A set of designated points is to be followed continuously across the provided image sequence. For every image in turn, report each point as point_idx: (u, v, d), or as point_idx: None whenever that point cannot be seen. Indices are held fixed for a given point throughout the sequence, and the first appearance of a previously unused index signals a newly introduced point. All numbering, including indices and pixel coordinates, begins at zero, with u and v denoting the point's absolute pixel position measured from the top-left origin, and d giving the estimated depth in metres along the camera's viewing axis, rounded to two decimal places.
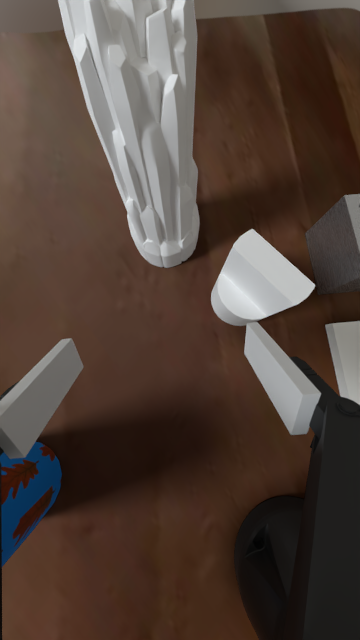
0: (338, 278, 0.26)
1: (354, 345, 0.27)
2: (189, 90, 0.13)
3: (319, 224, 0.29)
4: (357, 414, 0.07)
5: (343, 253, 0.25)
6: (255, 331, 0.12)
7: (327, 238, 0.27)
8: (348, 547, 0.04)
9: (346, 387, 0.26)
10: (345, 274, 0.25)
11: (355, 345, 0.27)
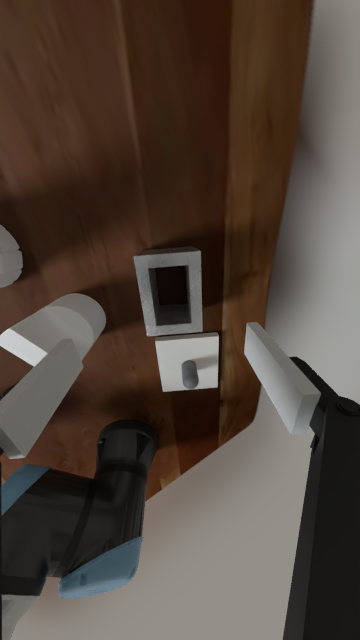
0: None
1: (170, 355, 0.36)
2: None
3: None
4: (357, 415, 0.07)
5: None
6: (255, 331, 0.12)
7: None
8: (348, 547, 0.04)
9: (161, 378, 0.39)
10: None
11: (170, 355, 0.36)
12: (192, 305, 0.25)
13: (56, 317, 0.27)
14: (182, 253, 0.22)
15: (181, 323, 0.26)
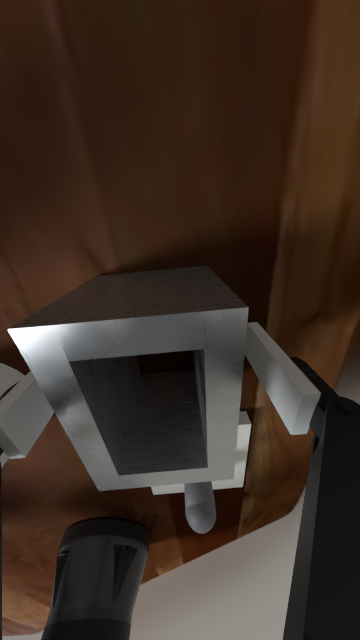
0: None
1: None
2: None
3: None
4: (357, 415, 0.07)
5: None
6: (255, 331, 0.12)
7: None
8: (348, 547, 0.04)
9: None
10: None
11: None
12: (211, 437, 0.09)
13: None
14: (182, 316, 0.06)
15: (183, 465, 0.10)
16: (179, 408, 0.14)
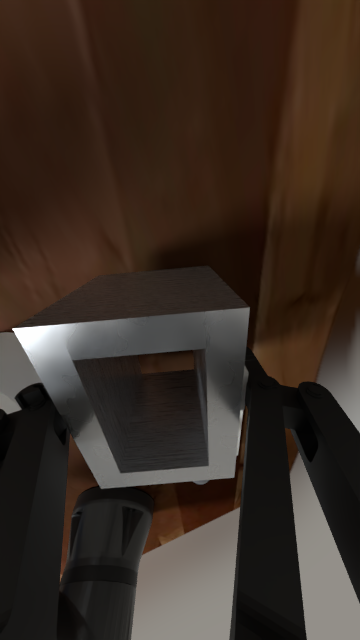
0: None
1: None
2: None
3: None
4: (272, 387, 0.08)
5: None
6: None
7: None
8: (268, 500, 0.05)
9: None
10: None
11: None
12: (212, 436, 0.09)
13: None
14: (184, 316, 0.06)
15: (184, 464, 0.11)
16: (180, 407, 0.14)
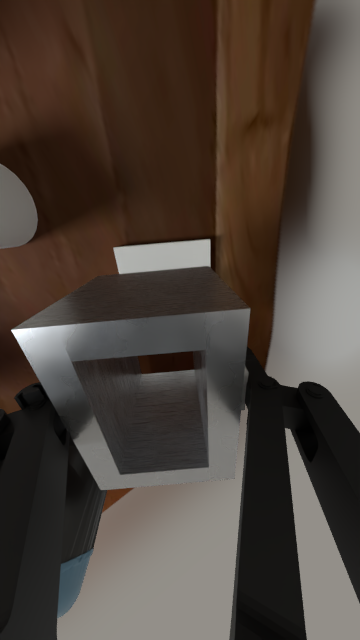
0: None
1: None
2: None
3: None
4: (272, 387, 0.08)
5: None
6: None
7: None
8: (268, 501, 0.05)
9: None
10: None
11: None
12: (212, 437, 0.09)
13: None
14: (184, 317, 0.06)
15: (184, 465, 0.10)
16: (180, 408, 0.14)
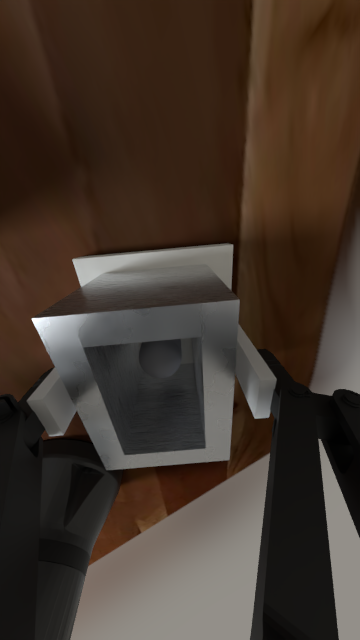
0: None
1: None
2: None
3: None
4: (304, 396, 0.08)
5: None
6: None
7: None
8: (299, 515, 0.05)
9: None
10: None
11: None
12: (209, 419, 0.10)
13: None
14: (182, 307, 0.07)
15: (183, 446, 0.11)
16: (180, 397, 0.15)
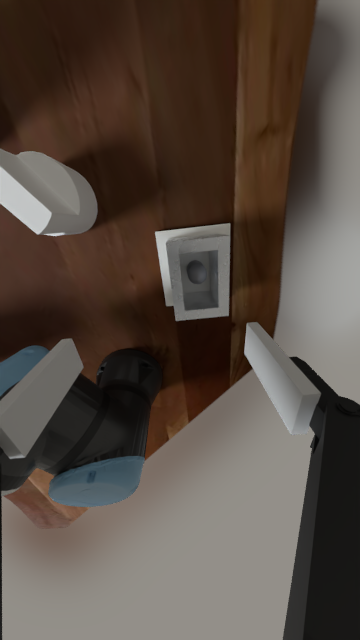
0: None
1: None
2: None
3: None
4: (357, 414, 0.07)
5: None
6: (255, 331, 0.12)
7: None
8: (348, 547, 0.04)
9: (163, 287, 0.34)
10: None
11: None
12: (220, 289, 0.26)
13: (32, 170, 0.22)
14: (212, 238, 0.23)
15: (209, 307, 0.27)
16: (205, 299, 0.31)
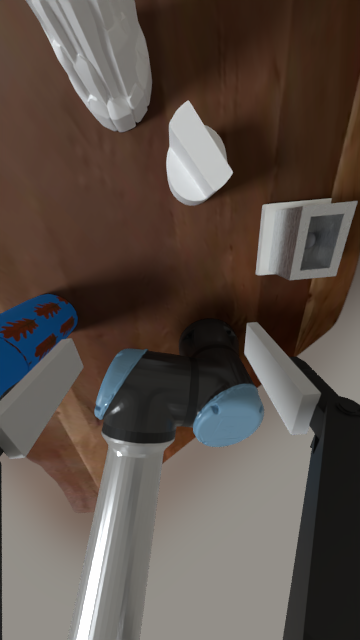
0: (279, 269, 0.35)
1: None
2: None
3: (284, 214, 0.32)
4: (357, 414, 0.07)
5: (286, 254, 0.32)
6: (255, 331, 0.12)
7: (284, 232, 0.32)
8: (348, 547, 0.04)
9: (260, 257, 0.38)
10: (282, 270, 0.34)
11: None
12: (335, 251, 0.30)
13: None
14: (342, 203, 0.27)
15: (320, 268, 0.31)
16: (305, 264, 0.35)
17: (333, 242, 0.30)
